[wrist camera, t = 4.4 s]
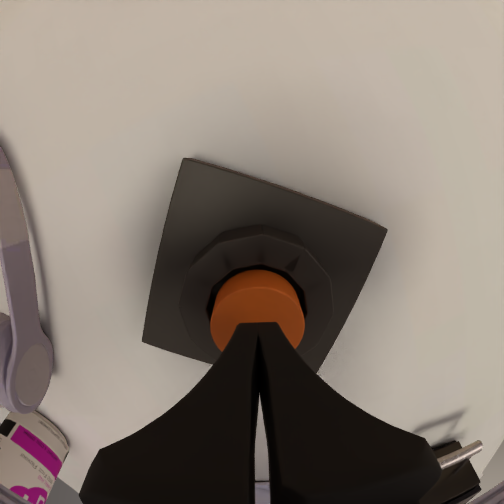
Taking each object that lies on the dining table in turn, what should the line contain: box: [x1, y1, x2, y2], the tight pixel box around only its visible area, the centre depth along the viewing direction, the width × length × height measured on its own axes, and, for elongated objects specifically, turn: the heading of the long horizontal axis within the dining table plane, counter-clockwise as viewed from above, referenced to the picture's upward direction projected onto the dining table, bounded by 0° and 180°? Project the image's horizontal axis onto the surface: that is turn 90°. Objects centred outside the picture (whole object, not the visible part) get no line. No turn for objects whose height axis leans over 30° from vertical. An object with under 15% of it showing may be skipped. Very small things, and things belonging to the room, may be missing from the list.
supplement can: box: [0, 410, 69, 504], centre depth 14 cm, size 8×8×15 cm
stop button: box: [210, 270, 305, 352], centre depth 11 cm, size 4×4×2 cm
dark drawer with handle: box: [419, 440, 483, 504], centre depth 19 cm, size 19×11×7 cm, turn 2°
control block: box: [142, 158, 388, 373], centre depth 14 cm, size 10×10×4 cm
